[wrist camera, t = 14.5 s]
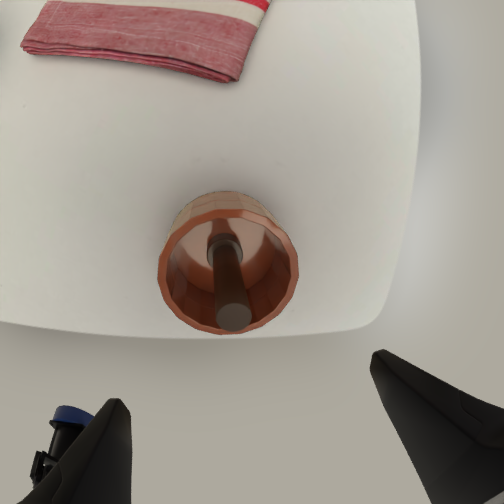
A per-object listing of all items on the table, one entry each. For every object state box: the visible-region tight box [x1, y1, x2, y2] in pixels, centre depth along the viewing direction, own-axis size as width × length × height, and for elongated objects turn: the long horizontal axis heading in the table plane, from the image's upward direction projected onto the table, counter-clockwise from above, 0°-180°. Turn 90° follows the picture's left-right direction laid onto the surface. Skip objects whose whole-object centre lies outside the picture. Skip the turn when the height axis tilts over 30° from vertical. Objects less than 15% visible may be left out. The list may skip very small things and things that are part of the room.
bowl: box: [157, 191, 299, 335], centre depth 18 cm, size 8×8×5 cm
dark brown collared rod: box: [207, 233, 252, 332], centre depth 16 cm, size 2×2×8 cm
